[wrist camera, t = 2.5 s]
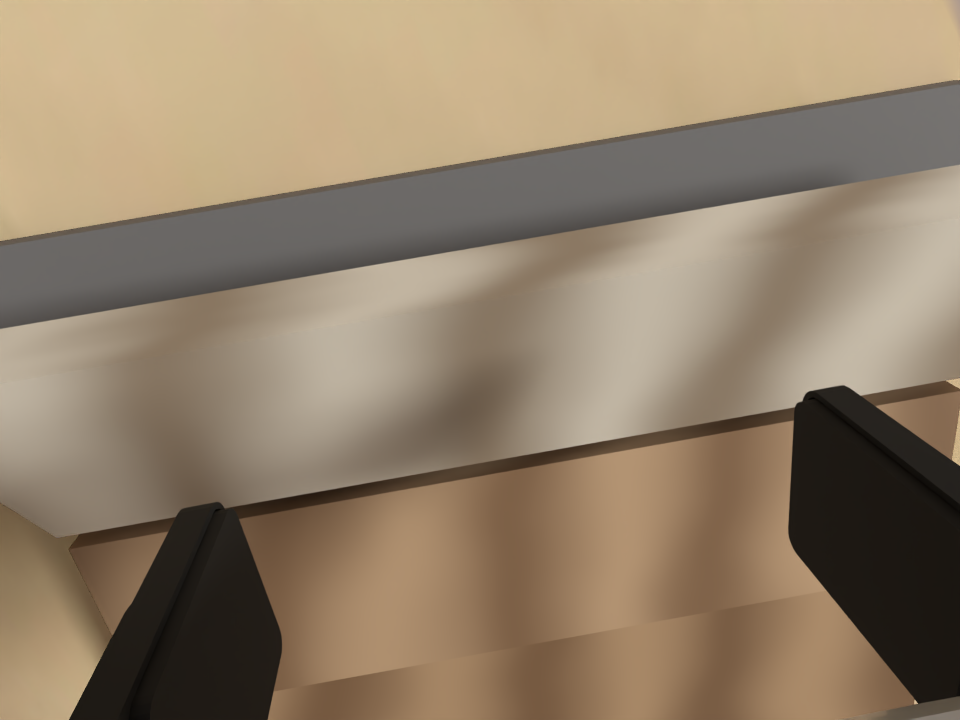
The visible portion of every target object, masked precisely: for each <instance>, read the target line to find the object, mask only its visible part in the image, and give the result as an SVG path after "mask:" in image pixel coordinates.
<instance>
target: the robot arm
mask: <svg viewBox="0 0 960 720" xmlns="http://www.w3.org/2000/svg"><path fill="white" fill-rule="evenodd" d="M788 535H789V539H790V542H791V545H792V547H793V549H794V551H795V552H796V554H797V555H798V556H799V558H800V559H801V560H802V561H803V562H804V564H805V565H806V566H807V567H808V569H809V570H810V571H811V572H812V574H813V575H814V576H815V577H816V578H817V580H818V581H819V582H820V583H821V585H822V586H823V587H824V588H825V590H826V591H827V592H828V593H829V594H830V596H831V597H832V598H833V599H834V601H835V602H836V603H837V604H838V605H839V607H840V608H841V609H842V610H843V612H844V613H845V614H846V615H847V617H848V618H849V619H850V620H851V621H852V623H853V624H854V625H855V626H856V628H857V629H858V630H859V631H860V633H861V634H862V635H863V636H864V637H865V639H866V640H867V641H868V642H869V644H870V645H871V646H872V647H873V648H874V650H875V651H876V652H877V653H878V655H879V656H880V657H881V658H882V660H883V661H884V662H885V663H886V664H887V666H888V667H889V668H890V669H891V671H892V672H893V673H894V674H895V676H896V677H897V678H898V679H899V680H900V682H901V683H902V684H903V685H904V687H905V688H906V689H907V690H908V691H909V693H910V694H911V695H912V696H913V698H914V699H915V700H916V701H917V703H918V704H915V705H910V706H905V707H900V708H895V709H890V710H885V711H880V712H875V713H870V714H865V715H860V716H855V717H850V718H845V719H840V720H960V466H959V465H958V464H956V463H955V462H953V461H952V460H951V459H949V458H948V457H946V456H945V455H943V454H942V453H941V452H939V451H938V450H936V449H935V448H934V447H932V446H931V445H929V444H928V443H927V442H925V441H924V440H922V439H921V438H919V437H918V436H917V435H915V434H914V433H912V432H911V431H910V430H908V429H907V428H905V427H904V426H903V425H901V424H900V423H898V422H897V421H896V420H894V419H893V418H891V417H890V416H888V415H887V414H886V413H884V412H883V411H881V410H880V409H879V408H877V407H876V406H874V405H873V404H872V403H870V402H869V401H867V400H866V399H865V398H863V397H862V396H860V395H859V394H857V393H856V392H855V391H853V390H852V389H850V388H849V387H847V386H845V385H839V386H834V387H829V388H823V389H818V390H813V391H808V392H807V393H806V394H805V396H804V398H803V401H801V402H798V403H797V404H796V406H795V410H794V425H793V444H792V463H791V483H790V502H789V521H788ZM281 654H282V636H281V631H280V628H279V625H278V622H277V620H276V617H275V614H274V612H273V609H272V606H271V604H270V601H269V598H268V595H267V593H266V590H265V587H264V585H263V582H262V579H261V577H260V574H259V571H258V569H257V566H256V563H255V561H254V558H253V555H252V553H251V550H250V547H249V544H248V542H247V539H246V536H245V534H244V531H243V528H242V526H241V523H240V520H239V518H238V515H237V513H236V511H235V510H234V509H232V508H230V509H225V508H224V506H223V505H222V504H221V503H219V502H213V503H208V504H203V505H197V506H192V507H187V508H183V509H181V510H180V511H179V512H178V514H177V516H176V518H175V520H174V522H173V524H172V526H171V528H170V530H169V532H168V534H167V535H166V537H165V539H164V541H163V543H162V545H161V547H160V549H159V551H158V553H157V555H156V557H155V559H154V561H153V563H152V565H151V567H150V569H149V571H148V573H147V574H146V576H145V578H144V580H143V582H142V584H141V586H140V588H139V590H138V592H137V594H136V596H135V598H134V600H133V602H132V604H131V605H130V606H129V607H128V609H127V610H126V611H125V613H124V615H123V617H122V619H121V620H120V622H119V624H118V626H117V628H116V630H115V632H114V634H113V636H112V638H111V640H110V642H109V644H108V646H107V648H106V649H105V651H104V653H103V655H102V657H101V659H100V661H99V663H98V665H97V667H96V669H95V671H94V673H93V675H92V677H91V678H90V680H89V682H88V684H87V686H86V688H85V690H84V692H83V694H82V696H81V698H80V700H79V702H78V704H77V706H76V707H75V709H74V711H73V713H72V715H71V717H70V719H69V720H268V716H269V711H270V706H271V701H272V697H273V692H274V687H275V682H276V678H277V673H278V668H279V664H280V659H281Z"/></svg>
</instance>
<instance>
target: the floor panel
mask: <svg viewBox="0 0 960 720" xmlns="http://www.w3.org/2000/svg"><path fill="white" fill-rule="evenodd" d="M955 165H960V80H953V81H947V82H941V83H935V84H929V85H923V86H917V87H911V88H905V89H899V90H893V91H888V92H882V93H876V94H870V95H864V96H858V97H852V98H846V99H840V100H834V101H828V102H822V103H816V104H811V105H805V106H799V107H793V108H787V109H781V110H775V111H769V112H763V113H757V114H751V115H745V116H739V117H734V118H728V119H722V120H716V121H710V122H704V123H698V124H692V125H686V126H680V127H674V128H668V129H662V130H657V131H651V132H645V133H639V134H633V135H627V136H621V137H615V138H609V139H603V140H597V141H591V142H585V143H580V144H574V145H568V146H562V147H556V148H550V149H544V150H538V151H532V152H526V153H520V154H514V155H508V156H503V157H497V158H491V159H485V160H479V161H473V162H467V163H461V164H455V165H449V166H443V167H437V168H431V169H426V170H420V171H414V172H408V173H402V174H396V175H390V176H384V177H378V178H372V179H366V180H360V181H354V182H349V183H343V184H337V185H331V186H325V187H319V188H313V189H307V190H301V191H295V192H289V193H283V194H277V195H272V196H266V197H260V198H254V199H248V200H242V201H236V202H230V203H224V204H218V205H212V206H206V207H200V208H195V209H189V210H183V211H177V212H171V213H165V214H159V215H153V216H147V217H141V218H135V219H129V220H123V221H118V222H112V223H106V224H100V225H94V226H88V227H82V228H76V229H70V230H64V231H58V232H52V233H46V234H41V235H35V236H29V237H23V238H17V239H11V240H5V241H0V329H3V328H9V327H15V326H21V325H27V324H32V323H38V322H44V321H50V320H56V319H62V318H68V317H73V316H79V315H85V314H91V313H97V312H103V311H108V310H114V309H120V308H126V307H132V306H138V305H143V304H149V303H155V302H161V301H167V300H173V299H178V298H184V297H190V296H196V295H202V294H208V293H213V292H219V291H225V290H231V289H237V288H243V287H249V286H254V285H260V284H266V283H272V282H278V281H284V280H289V279H295V278H301V277H307V276H313V275H319V274H324V273H330V272H336V271H342V270H348V269H354V268H359V267H365V266H371V265H377V264H383V263H389V262H395V261H400V260H406V259H412V258H418V257H424V256H430V255H435V254H441V253H447V252H453V251H459V250H465V249H470V248H476V247H482V246H488V245H494V244H500V243H505V242H511V241H517V240H523V239H529V238H535V237H541V236H546V235H552V234H558V233H564V232H570V231H576V230H581V229H587V228H593V227H599V226H605V225H611V224H616V223H622V222H628V221H634V220H640V219H646V218H651V217H657V216H663V215H669V214H675V213H681V212H687V211H692V210H698V209H704V208H710V207H716V206H722V205H727V204H733V203H739V202H745V201H751V200H757V199H762V198H768V197H774V196H780V195H786V194H792V193H797V192H803V191H809V190H815V189H821V188H827V187H833V186H838V185H844V184H850V183H856V182H862V181H868V180H873V179H879V178H885V177H891V176H897V175H903V174H908V173H914V172H920V171H926V170H932V169H938V168H943V167H949V166H955ZM861 396H862V397H863V398H865V399H866V400H867V401H869V402H870V403H872V404H873V405H874V406H876V407H877V408H879V409H880V410H881V411H883V412H884V413H886V414H887V415H888V416H890V417H891V418H893V419H894V420H896V421H897V422H898V423H900V424H901V425H903V426H904V427H905V428H907V429H908V430H910V431H911V432H912V433H914V434H915V435H917V436H918V437H919V438H921V439H922V440H924V441H925V442H927V443H928V444H929V445H931V446H932V447H934V448H935V449H936V450H938V451H939V452H941V453H942V454H943V455H945V456H946V457H948V458H949V459H951V460H952V455H953V448H954V442H955V435H956V429H957V423H958V416H959V410H960V389H959V388H957V387H955V386H954V385H952V384H950V383H948V382H946V381H940V382H934V383H929V384H923V385H918V386H912V387H906V388H901V389H895V390H889V391H884V392H878V393H872V394H867V395H861ZM794 410H795V407H793V408H788V409H782V410H776V411H771V412H765V413H760V414H754V415H748V416H743V417H737V418H731V419H726V420H720V421H714V422H709V423H703V424H697V425H692V426H686V427H681V428H675V429H669V430H664V431H658V432H652V433H647V434H641V435H635V436H630V437H624V438H618V439H613V440H607V441H602V442H596V443H590V444H585V445H579V446H573V447H568V448H562V449H556V450H551V451H545V452H540V453H534V454H528V455H523V456H517V457H511V458H506V459H500V460H494V461H489V462H483V463H477V464H472V465H466V466H461V467H455V468H449V469H444V470H438V471H432V472H427V473H421V474H415V475H410V476H404V477H398V478H393V479H387V480H382V481H376V482H370V483H365V484H359V485H353V486H348V487H342V488H336V489H331V490H325V491H319V492H314V493H308V494H303V495H297V496H291V497H286V498H280V499H274V500H269V501H263V502H257V503H252V504H246V505H240V506H235V507H229V508H225V509H230V508H232V509H234V510H235V511H236V513H237V515H238V518H239V520H240V523H241V526H242V528H243V531H244V534H245V536H246V539H247V542H248V544H249V547H250V550H251V553H252V555H253V558H254V561H255V563H256V566H257V569H258V571H259V574H260V577H261V579H262V582H263V585H264V587H265V590H266V593H267V595H268V598H269V601H270V604H271V606H272V609H273V612H274V614H275V617H276V620H277V622H278V625H279V628H280V631H281V636H282V654H281V659H280V664H279V668H278V673H277V678H276V682H275V687H274V692H273V697H272V701H271V706H270V711H269V716H268V720H840V719H845V718H850V717H855V716H860V715H865V714H870V713H875V712H880V711H885V710H890V709H895V708H900V707H905V706H910V705H914V698H913V696H912V695H911V694H910V693H909V691H908V690H907V689H906V688H905V687H904V685H903V684H902V683H901V682H900V680H899V679H898V678H897V677H896V676H895V674H894V673H893V672H892V671H891V669H890V668H889V667H888V666H887V664H886V663H885V662H884V661H883V660H882V658H881V657H880V656H879V655H878V653H877V652H876V651H875V650H874V648H873V647H872V646H871V645H870V644H869V642H868V641H867V640H866V639H865V637H864V636H863V635H862V634H861V633H860V631H859V630H858V629H857V628H856V626H855V625H854V624H853V623H852V621H851V620H850V619H849V618H848V617H847V615H846V614H845V613H844V612H843V610H842V609H841V608H840V607H839V605H838V604H837V603H836V602H835V601H834V599H833V598H832V597H831V596H830V594H829V593H828V592H827V591H826V590H825V588H824V587H823V586H822V585H821V583H820V582H819V581H818V580H817V578H816V577H815V576H814V575H813V574H812V572H811V571H810V570H809V569H808V567H807V566H806V565H805V564H804V562H803V561H802V560H801V559H800V558H799V556H798V555H797V554H796V552H795V551H794V549H793V547H792V545H791V542H790V539H789V535H788V521H789V502H790V483H791V463H792V444H793V425H794ZM175 518H176V517H173V518H167V519H161V520H156V521H150V522H145V523H139V524H133V525H128V526H122V527H116V528H111V529H105V530H99V531H94V532H88V533H82V534H80V535H79V536H78V537H77V539H76V540H75V541H74V543H73V544H72V545H71V547H70V548H69V551H70V553H71V555H72V557H73V559H74V561H75V563H76V565H77V567H78V569H79V571H80V573H81V575H82V577H83V579H84V581H85V583H86V585H87V587H88V589H89V591H90V593H91V595H92V597H93V599H94V601H95V603H96V605H97V607H98V609H99V611H100V613H101V615H102V617H103V619H104V621H105V623H106V625H107V627H108V629H109V631H110V633H111V635H112V636H113V634H114V632H115V630H116V628H117V626H118V624H119V622H120V620H121V619H122V617H123V615H124V613H125V611H126V610H127V609H128V607H129V606H130V605H131V604H132V602H133V600H134V598H135V596H136V594H137V592H138V590H139V588H140V586H141V584H142V582H143V580H144V578H145V576H146V574H147V573H148V571H149V569H150V567H151V565H152V563H153V561H154V559H155V557H156V555H157V553H158V551H159V549H160V547H161V545H162V543H163V541H164V539H165V537H166V535H167V534H168V532H169V530H170V528H171V526H172V524H173V522H174V520H175Z"/></svg>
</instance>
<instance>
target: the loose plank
mask: <svg viewBox="0 0 960 720" xmlns="http://www.w3.org/2000/svg"><path fill="white" fill-rule="evenodd" d="M957 378H960V165H955V166H949V167H943V168H938V169H932V170H926V171H920V172H914V173H908V174H903V175H897V176H891V177H885V178H879V179H873V180H868V181H862V182H856V183H850V184H844V185H838V186H833V187H827V188H821V189H815V190H809V191H803V192H797V193H792V194H786V195H780V196H774V197H768V198H762V199H757V200H751V201H745V202H739V203H733V204H727V205H722V206H716V207H710V208H704V209H698V210H692V211H687V212H681V213H675V214H669V215H663V216H657V217H651V218H646V219H640V220H634V221H628V222H622V223H616V224H611V225H605V226H599V227H593V228H587V229H581V230H576V231H570V232H564V233H558V234H552V235H546V236H541V237H535V238H529V239H523V240H517V241H511V242H505V243H500V244H494V245H488V246H482V247H476V248H470V249H465V250H459V251H453V252H447V253H441V254H435V255H430V256H424V257H418V258H412V259H406V260H400V261H395V262H389V263H383V264H377V265H371V266H365V267H359V268H354V269H348V270H342V271H336V272H330V273H324V274H319V275H313V276H307V277H301V278H295V279H289V280H284V281H278V282H272V283H266V284H260V285H254V286H249V287H243V288H237V289H231V290H225V291H219V292H213V293H208V294H202V295H196V296H190V297H184V298H178V299H173V300H167V301H161V302H155V303H149V304H143V305H138V306H132V307H126V308H120V309H114V310H108V311H103V312H97V313H91V314H85V315H79V316H73V317H68V318H62V319H56V320H50V321H44V322H38V323H32V324H27V325H21V326H15V327H9V328H3V329H0V503H2V504H3V505H5V506H6V507H8V508H10V509H11V510H13V511H14V512H16V513H18V514H19V515H21V516H22V517H24V518H26V519H27V520H29V521H30V522H32V523H34V524H35V525H37V526H38V527H40V528H42V529H43V530H45V531H46V532H48V533H50V534H51V535H53V536H54V537H56V538H60V537H66V536H71V535H77V534H82V533H88V532H94V531H99V530H105V529H111V528H116V527H122V526H128V525H133V524H139V523H145V522H150V521H156V520H161V519H167V518H173V517H176V516H177V514H178V512H179V511H180V510H181V509H183V508H187V507H192V506H197V505H203V504H208V503H213V502H219V503H221V504H222V505H223V506H224V508H229V507H235V506H240V505H246V504H252V503H257V502H263V501H269V500H274V499H280V498H286V497H291V496H297V495H303V494H308V493H314V492H319V491H325V490H331V489H336V488H342V487H348V486H353V485H359V484H365V483H370V482H376V481H382V480H387V479H393V478H398V477H404V476H410V475H415V474H421V473H427V472H432V471H438V470H444V469H449V468H455V467H461V466H466V465H472V464H477V463H483V462H489V461H494V460H500V459H506V458H511V457H517V456H523V455H528V454H534V453H540V452H545V451H551V450H556V449H562V448H568V447H573V446H579V445H585V444H590V443H596V442H602V441H607V440H613V439H618V438H624V437H630V436H635V435H641V434H647V433H652V432H658V431H664V430H669V429H675V428H681V427H686V426H692V425H697V424H703V423H709V422H714V421H720V420H726V419H731V418H737V417H743V416H748V415H754V414H760V413H765V412H771V411H776V410H782V409H788V408H793V407H795V406H796V404H797V403H798V402H801V401H803V398H804V396H805V394H806V393H807V392H808V391H813V390H818V389H823V388H829V387H834V386H839V385H845V386H847V387H849V388H850V389H852V390H853V391H855V392H856V393H857V394H859V395H860V396H861V395H867V394H872V393H878V392H884V391H889V390H895V389H901V388H906V387H912V386H918V385H923V384H929V383H934V382H940V381H946V380H951V379H957Z"/></svg>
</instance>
